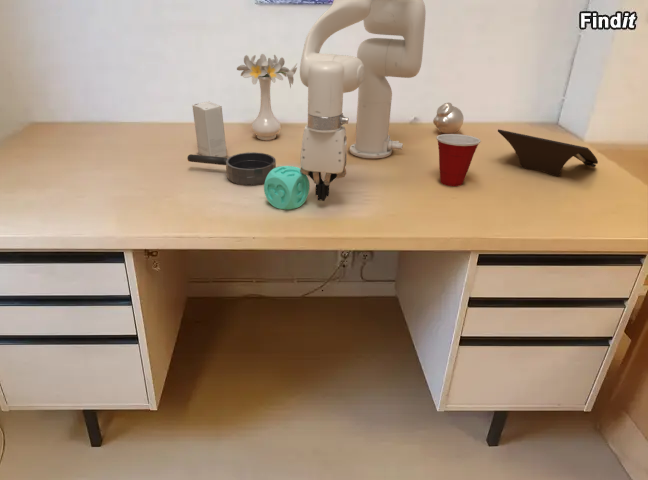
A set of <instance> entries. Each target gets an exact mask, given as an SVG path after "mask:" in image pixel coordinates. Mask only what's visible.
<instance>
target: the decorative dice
mask: <svg viewBox="0 0 648 480" xmlns="http://www.w3.org/2000/svg"><path fill="white" fill-rule="evenodd" d="M300 169H301V167H297V166H295V165H294V166H292V165H281V166H280V165H279V166H276V168H274V169H272V170H271V171H270V172H269V174H268V175H267V177H266V180H265V183H264V184H263V192H264V197H265V199H266V200H267V201H268V203H269V204H270V205H271V206H272V207H274V208H275V209H280V210H295V209H298V208H300V207H301V206H303V205H304V203H305V202H306V201H307V198H308V196H309V193H310V187H311V186H310V185H311V184H310V179H309V177H308V175H305V174H302V173H301V172H300Z"/></svg>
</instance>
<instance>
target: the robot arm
mask: <svg viewBox="0 0 648 480" xmlns="http://www.w3.org/2000/svg"><path fill="white" fill-rule="evenodd" d="M426 13H427V12H426V4H425V2H424V0H333V1H332V4H331V6H330V7H329V8H328V9H327V10H326V11H325V12H323V13H322V14H321V15H320V16H319V17H318V19H316V21H315V22H314V24H313V25H312V26H311V28H310V29H309V31H308V33H307V35H306V37H305V40H304V44H303V49H302V54H301V59H300V66H299V78H300V81H301V83H302V85H303V86H305V87H306V88H307V124H306V125H304V129H303V134H302V139H301V148H300V149H301V150H300V172H301V173H302V174H305V175H307V176H309V178H310V179H311V180H312V181H313V183H314V185H315V196H317V198H316V199H317V201H319V202H320V201H322V202H325V201H326V199H327V198H328V197H329V196H330V184H331V183H332V182H333V181H334V180H336V179H342V178H346V175H347V170H346V169H347V168H346V166H347V162H348V141H347V131H346V127H345V126H344V125H348V124H349V117H346V116H344V113H343V107H344V106H343V103H344V102H343V101H344V94H346V93H351V92H354V91H356V90H357V89H358V90H357V107H356V123H355V124H356V125H355V140H354V141H355V142H354V143H353V144H351V145H350V146H349V153H350V154H351V155H353V156H355V157H357V158H361V159H370V160H371V159H375V160H376V159H383V158H386V157H387V158H388V157H389V156H391V155H392V154H393V150H398V151H399V150H400V151H402V150H403V146H404V144H403V142H400V140H392V139H391V135H390V134H389V132H390V122H391V121H390V120H391V110H392V109H391V108H392V100H393V91H392V87H391V85H390V83H389V81H388V79H387V78H386V77H392V78H403V79H410V78H414V77H417V75H418V74H419V72H420V70H421V67H422V62H423V54H424V42H425V41H424V39H425V29H426V28H425V27H426ZM360 22H363V27H364V30H365V31H366V32H367V33H369V34H372V35H379V36H381V35H383V36H397V37H402V38H403V39H401V38H400V39H398V38H387V37H386V38H385V37H372V38H367V39H365V40H363V41H362V42H361V43H360V44H359V46H358V48H357V52H356V56H353V55H346V54H345V55H344V54H333V53H321V49H322V47H323V46H324V43H325V42H326V41H327V40H328V39H329V38H330V37H332V35H334V34H336V33H337V32H339V31H341V30H344V29H346V28H348V27H350V26H353V25H355V24H357V23H360ZM322 173H324V174H325V175H324V179H323V177H322Z"/></svg>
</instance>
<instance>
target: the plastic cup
mask: <svg viewBox="0 0 648 480" xmlns="http://www.w3.org/2000/svg"><path fill="white" fill-rule="evenodd" d="M435 138H436V140H437V145H438V165H439V166H438V169H439V181H440V183H441V184H442V185H443V186H447V187H460V186H462V185H463V184H464V182H465V179H466V176H467V173H468V171H469V170H470V167H471V163H472V161H473V158H474V155H475V153H476V150H477V148H478V146H479V145H480V143H481V142H482V140H481V138H478V137H476V136H473V135H468V134H461V133H453V134H443V133H442V134H439V135H437V136H436V137H435Z"/></svg>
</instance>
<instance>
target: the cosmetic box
mask: <svg viewBox="0 0 648 480" xmlns="http://www.w3.org/2000/svg"><path fill="white" fill-rule="evenodd" d="M191 107H192V115H193V122H194V129H195V137H196V146H197V152H198V153H197V154H198V155H203V156H213V157H224V158H228V153H227V152H228V151H227V143H226V134H225V124H224V116H223V115H224V114H223V106H222V105H219V104H217V103H214V102H213V101H210V100H208V101H204V102H198V103H195V104H192V105H191Z"/></svg>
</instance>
